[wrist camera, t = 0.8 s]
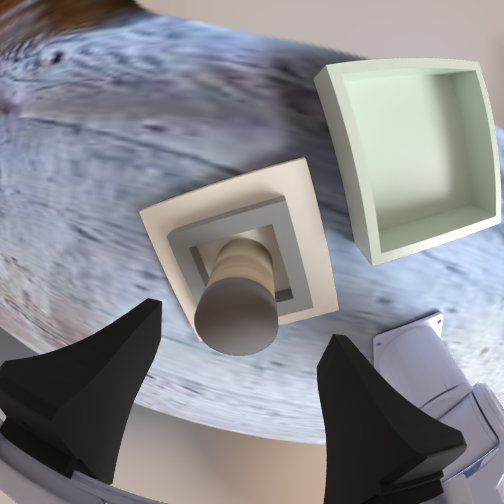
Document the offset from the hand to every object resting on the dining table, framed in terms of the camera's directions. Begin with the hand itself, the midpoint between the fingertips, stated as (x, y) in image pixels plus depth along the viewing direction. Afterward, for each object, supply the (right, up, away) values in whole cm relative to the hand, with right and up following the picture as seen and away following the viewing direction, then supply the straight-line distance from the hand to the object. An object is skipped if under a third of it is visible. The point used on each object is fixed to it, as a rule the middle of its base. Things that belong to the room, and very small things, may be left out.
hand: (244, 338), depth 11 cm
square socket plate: (0, +3, +10) cm, 10 cm away
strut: (0, +3, +9) cm, 9 cm away
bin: (+12, +11, +6) cm, 18 cm away
